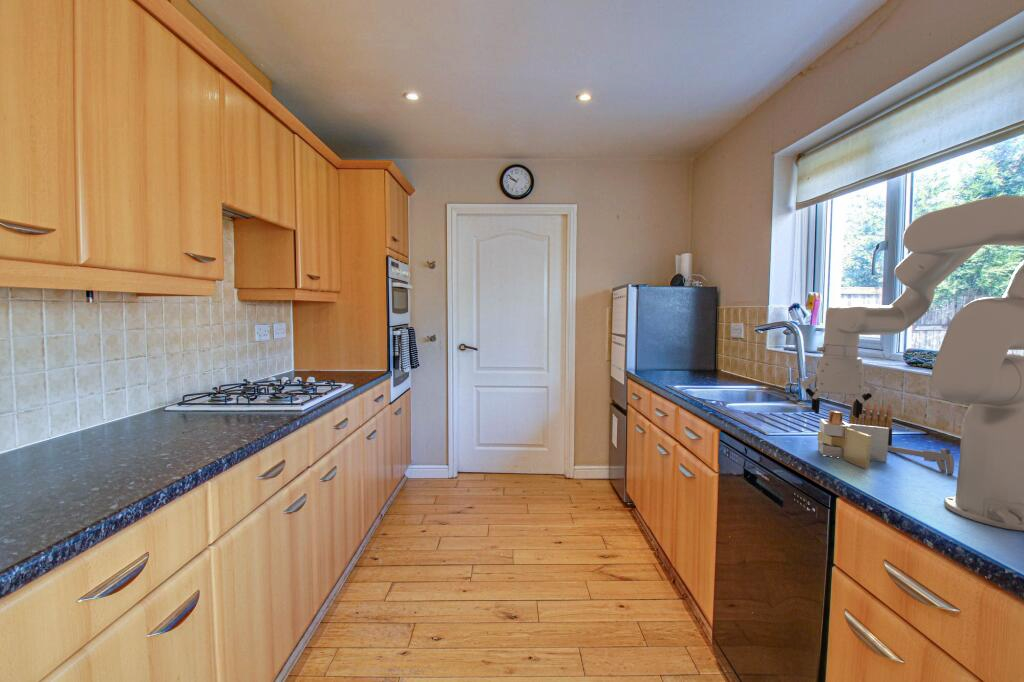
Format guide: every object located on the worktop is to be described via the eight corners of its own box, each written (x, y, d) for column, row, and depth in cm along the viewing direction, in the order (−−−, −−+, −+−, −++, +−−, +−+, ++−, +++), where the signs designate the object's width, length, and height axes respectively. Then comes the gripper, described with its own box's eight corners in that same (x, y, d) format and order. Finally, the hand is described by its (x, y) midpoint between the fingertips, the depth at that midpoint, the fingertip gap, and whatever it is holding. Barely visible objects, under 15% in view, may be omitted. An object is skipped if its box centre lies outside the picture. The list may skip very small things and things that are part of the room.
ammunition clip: (889, 443, 130) (892, 404, 129) (891, 445, 128) (895, 406, 127) (846, 439, 134) (849, 401, 133) (848, 440, 132) (851, 402, 131)
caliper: (953, 476, 105) (956, 451, 105) (949, 476, 105) (951, 450, 105) (883, 449, 125) (885, 428, 125) (880, 449, 125) (881, 427, 125)
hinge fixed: (889, 465, 111) (892, 430, 110) (822, 456, 117) (824, 423, 117) (881, 458, 116) (884, 425, 116) (817, 450, 122) (820, 418, 122)
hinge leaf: (877, 469, 107) (879, 436, 107) (856, 468, 107) (858, 435, 107) (835, 450, 121) (837, 421, 121) (816, 450, 121) (818, 421, 121)
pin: (840, 457, 117) (844, 413, 116) (827, 455, 118) (830, 412, 117) (838, 454, 119) (841, 411, 118) (824, 452, 121) (828, 410, 120)
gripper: (804, 350, 117) (800, 413, 118) (885, 354, 109) (880, 421, 111) (799, 348, 124) (795, 408, 125) (876, 352, 116) (871, 415, 117)
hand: (835, 414), depth 118 cm, fingers open, 8 cm apart
